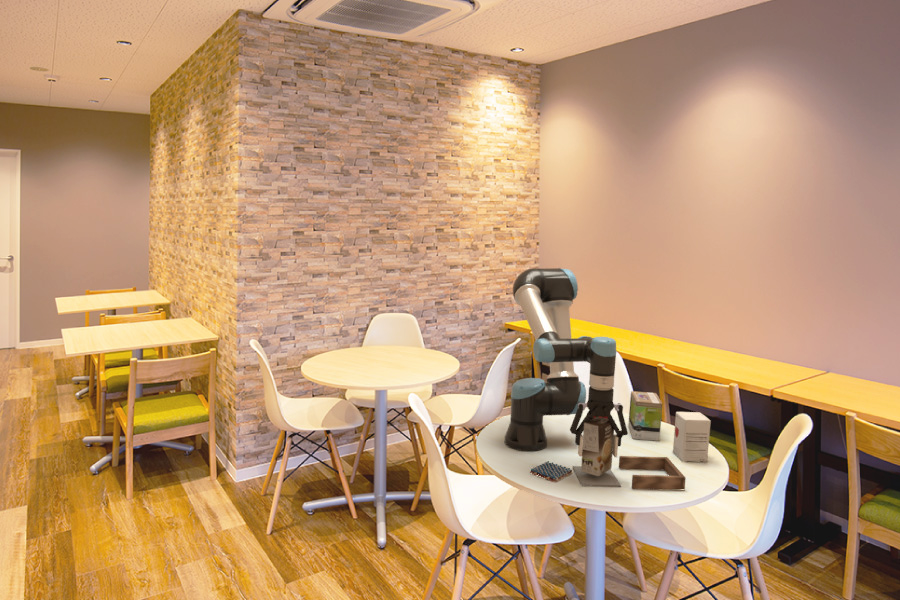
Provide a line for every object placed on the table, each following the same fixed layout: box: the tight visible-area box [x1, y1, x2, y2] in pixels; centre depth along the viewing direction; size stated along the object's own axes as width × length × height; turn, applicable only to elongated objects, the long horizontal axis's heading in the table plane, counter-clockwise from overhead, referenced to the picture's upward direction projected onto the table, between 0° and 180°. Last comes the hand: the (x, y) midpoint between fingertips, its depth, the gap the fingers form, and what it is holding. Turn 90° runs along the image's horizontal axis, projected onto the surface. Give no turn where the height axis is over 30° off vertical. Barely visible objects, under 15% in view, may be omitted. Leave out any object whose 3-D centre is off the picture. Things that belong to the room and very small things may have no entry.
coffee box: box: [580, 417, 615, 476], centre depth 198 cm, size 9×6×16 cm
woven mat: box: [529, 461, 573, 484], centre depth 201 cm, size 10×11×2 cm
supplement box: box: [672, 411, 712, 463], centre depth 217 cm, size 9×9×15 cm
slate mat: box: [572, 465, 622, 488], centre depth 199 cm, size 12×14×1 cm
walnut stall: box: [618, 455, 687, 490], centre depth 199 cm, size 16×16×4 cm
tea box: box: [627, 390, 663, 442], centre depth 240 cm, size 15×10×15 cm
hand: (597, 455), depth 198 cm, fingers closed on coffee box, 10 cm apart
